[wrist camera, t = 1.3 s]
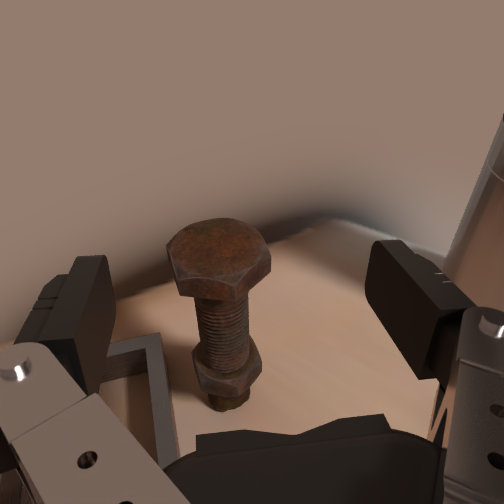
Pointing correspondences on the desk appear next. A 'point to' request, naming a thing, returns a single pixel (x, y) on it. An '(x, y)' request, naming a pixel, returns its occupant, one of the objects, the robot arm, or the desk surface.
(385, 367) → the desk surface
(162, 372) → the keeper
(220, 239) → the bolt
